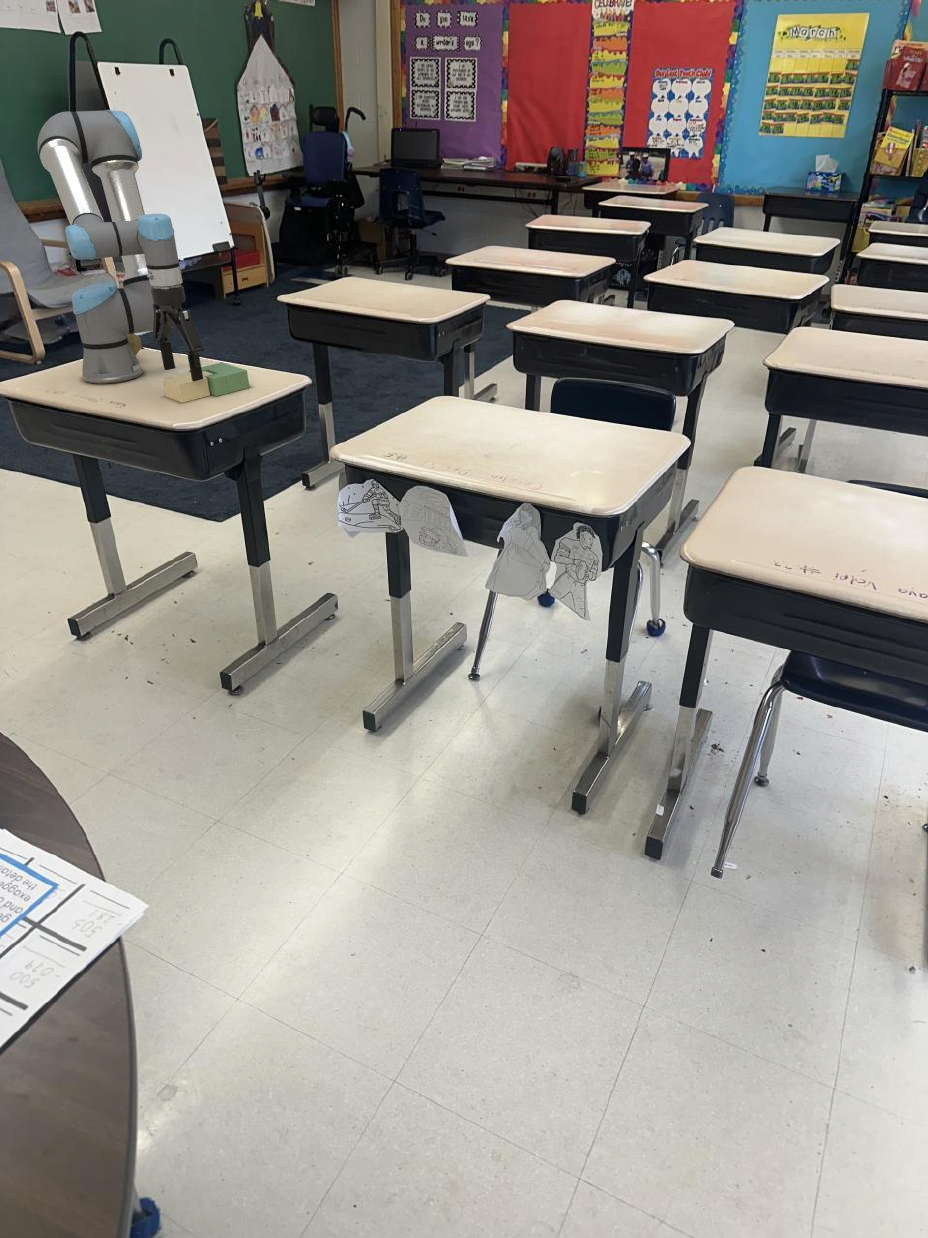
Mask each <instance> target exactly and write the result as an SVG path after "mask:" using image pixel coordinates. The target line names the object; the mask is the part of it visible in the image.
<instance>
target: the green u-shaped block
mask: <svg viewBox="0 0 928 1238" xmlns="http://www.w3.org/2000/svg"><path fill="white" fill-rule="evenodd" d="M201 368H202V372H203V371H206V372H209V373H212V374H213V375H209V376H206V378H207V381H208V386H209V392H210V395H211V396H214V397H219V396H222V395H227V394H230V393H235V392H237V391H241V390H245V389H249V388H250V380H249V376H248V375H249V374H248V370H247V369H244V368H242V367H238V366H235V365H232V364H228V363H226V362H222V361H221V362H218V363H217V362H216V363H213V364H209V365H204V366H201ZM189 372H190V369H188V373H189Z"/></svg>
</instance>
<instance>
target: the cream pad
mask: <svg viewBox="0 0 928 1238" xmlns="http://www.w3.org/2000/svg"><path fill="white" fill-rule="evenodd" d="M202 374H203V379H202V380H198V381H192V377H191V372H189V371H188V372H185V373H181V374H177V375H173V376H168V377H165V378H162V383H163V387H164V388H163V389H164V394H165V397H166V398H168V399H171V400H174V401H177V402H179V403H186V402H190V401H191V402H192V401H194V400H198V399H201V398H205V397H209V396H211V394H210V392H209V386H208V381H207V378H206V376H209V375H213V374H212V373H209V372H206V371H203V372H202Z"/></svg>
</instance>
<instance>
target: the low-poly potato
mask: <svg viewBox="0 0 928 1238" xmlns="http://www.w3.org/2000/svg"><path fill="white" fill-rule="evenodd" d="M127 338H128V342H129V346H130V347H131V349H132V351H133V353H134V355H135V356H136V357H137V355H138V354H139V352H140V351H141V350H146V348H145V347H143V344H142V341H141V336H140V335H138V334H137V333H133V334H127Z"/></svg>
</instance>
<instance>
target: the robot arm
mask: <svg viewBox="0 0 928 1238" xmlns="http://www.w3.org/2000/svg"><path fill="white" fill-rule="evenodd" d="M37 137H38V138H37V153H38V157H39V159H40V162H41V164H42V166H43V168H44V169H45V170H46V171H47V172H48V173H49V174H50V177H51V179H52V182H53V184H54V186H55V189H56V192H57V194H58V196H59V199H60V202H61V204H62V207H63V211H64V212H65V214H66V218H67V220H68V222H69V225H67V226H65V231H64V232H65V237H66V240H67V246H68V248H69V252H70V254H71V256H72V258H73V259H75V260H89V261H93V260H97V259H107V258H116V257H117V258H118V257H121V260H122V264H123V269H124V271H125V275H124V277H123V278H122V280H121V281H122V282H121V284H122V286H123V287H119V288H118V286H117V285H116V284H115V283H114V282H101V283H95V284H91V285H88V286H85V287H81V288H80V289H77V290H76V291H75V292H73V293H72V295H71V303H72V309H73V311H72V312H73V314H74V315H75V320H76V324H77V328H78V333H79V336H80V340H81V345H82V349H83V351H82V352H81V356H82V357H83V358H82V371H81V372H82V373H81V374H82V377H83V381H85V382H87V383H90V384H97V385H99V384H100V385H103V384H104V385H105V384H107V385H108V384H116V383H117V384H118V383H123V382H128V381H131V380H134V379H136V378H139V377H140V376H142V374H143V370H142V369H143V368H142V366H141V363H140V362H139V360H138V357H137V355H136V356H135V355H134V353H133V351H132V349H131V347H130V346H129V342H128V338H127V334H133V333H134V334H139V333H140V334H141V333H147V332H152V339H153V340H156V343H157V344H158V345H159V350H160V354H161V359H162V365H163V369H164V371H169V370H174V369H176V364H175V359H174V354H173V348H172V343H171V338H170V335H171V332H172V329H174V331H176V332H177V334H178V335H179V337H180V339H181V341H182V343H183V345H184V346H185V348H186V350H187V353H186V356H187V360H188V366H189V370H190V372H191V377H192V381H198V380H202V379H203V374H202V368H201V367H202V363H201V357H200V353H203V352H204V351H205V349H204V347H203V344H202V341H201V339H200V336H199V334H198V331H197V329H196V326H195V323H194V321H193V318H192V315H191V311H190V309H186V310H184V309H183V307H182V305H183V304H184V303H185V302H186V299H187V298H186V294H185V288H184V286H183V285H182V284H183V283H184V282H183V276H182V270H181V265H180V261H179V255H178V250H177V244H176V243H177V242H176V238H175V230H174V226H173V223H172V219H171V216H169V215H168V214H165V213H147V214H146V213H145V210H144V209H145V208H144V205H143V202H142V197H141V194H140V190H139V186H138V181H137V179H136V173H137V171H138V170H139V168H140V165H139V162H140V161H142V159H143V150H142V146H141V142H140V137H139V135H138V132H137V129H136V127H135V124H134V123H133V120H132V119H131V117H130V116H129V114H127V113H126V112H124V111H122V110H110V109H105V110H85V111H84V110H82V111H79V110H78V111H71V110H70V111H62V112H58V113H55V114H54V115H53V116H51V117H49V118H48V120H47V121H45V123H44V124H43V126H42V127H41V129H40V130H39V134H38V136H37ZM83 164H85V165H86V164H90V166H91V170H92V172H93V174H95V175H96V176H98V177H99V178H100V180H101V183H102V187H103V191H104V195H105V199H106V203H107V206H108V211H109V214H110V218H111V221H104V218H103V216H102V213H101V211H100V208H99V206H98V204H97V201H96V198H95V196H94V194H93V190H92V189H91V187H90V184H89V182H88V179H87V176H86V174H85V172H84V168H83V167H82V165H83ZM107 465H108V468H109V469H110V470H111V469H112V464H111V463H110V462H107Z"/></svg>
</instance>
